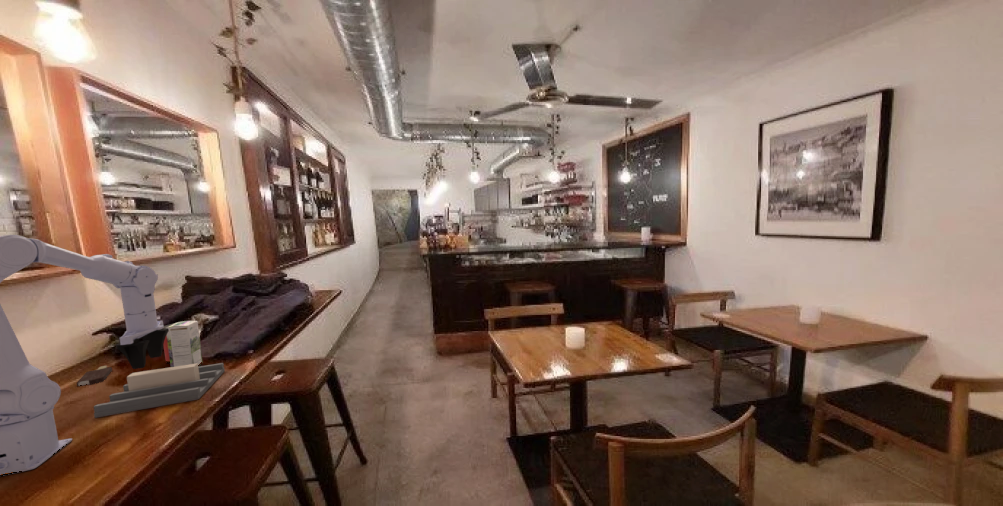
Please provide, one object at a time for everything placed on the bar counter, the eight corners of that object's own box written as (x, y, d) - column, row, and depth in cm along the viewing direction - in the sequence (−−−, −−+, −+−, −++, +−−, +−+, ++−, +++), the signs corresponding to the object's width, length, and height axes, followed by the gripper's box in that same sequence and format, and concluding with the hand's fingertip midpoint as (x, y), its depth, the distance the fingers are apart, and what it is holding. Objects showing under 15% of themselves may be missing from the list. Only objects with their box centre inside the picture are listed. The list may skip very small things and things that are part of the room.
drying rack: (198, 399, 91) (197, 389, 90) (94, 417, 83) (92, 407, 83) (224, 371, 107) (223, 362, 107) (139, 384, 100) (138, 375, 100)
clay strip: (200, 380, 99) (197, 363, 98) (196, 384, 97) (193, 366, 96) (135, 390, 94) (132, 373, 93) (129, 395, 92) (126, 376, 91)
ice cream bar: (91, 371, 111) (76, 388, 100) (91, 366, 111) (75, 383, 100) (116, 366, 115) (103, 383, 103) (115, 361, 115) (102, 377, 103)
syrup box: (181, 366, 112) (175, 322, 111) (203, 363, 114) (197, 319, 112) (171, 373, 107) (164, 327, 105) (194, 370, 109) (188, 324, 107)
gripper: (143, 316, 85) (151, 370, 87) (174, 303, 99) (180, 350, 100) (105, 320, 83) (113, 375, 84) (141, 306, 97) (148, 354, 98)
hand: (147, 362), depth 92 cm, fingers open, 7 cm apart
